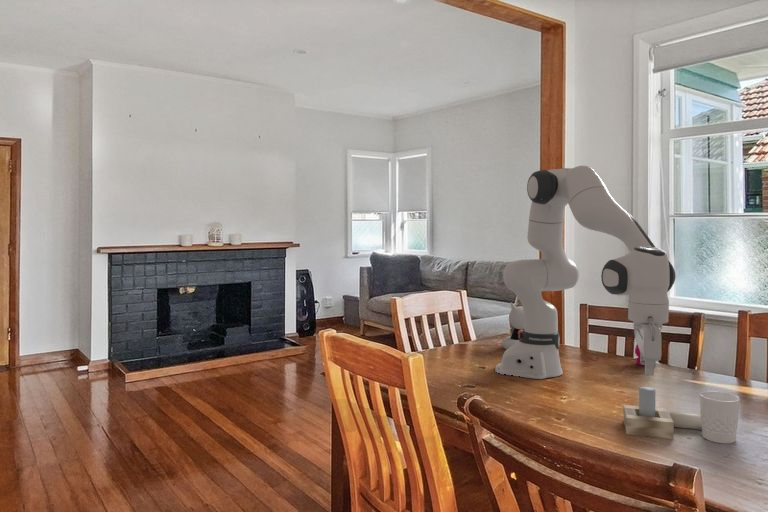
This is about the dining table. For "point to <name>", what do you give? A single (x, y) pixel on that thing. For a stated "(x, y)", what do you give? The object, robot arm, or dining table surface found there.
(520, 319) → the decorative figurine
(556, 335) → the robot arm
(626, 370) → the dining table surface
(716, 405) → the white cup
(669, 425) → the socket
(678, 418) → the lying peg
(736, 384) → the dining table surface
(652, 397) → the peg
